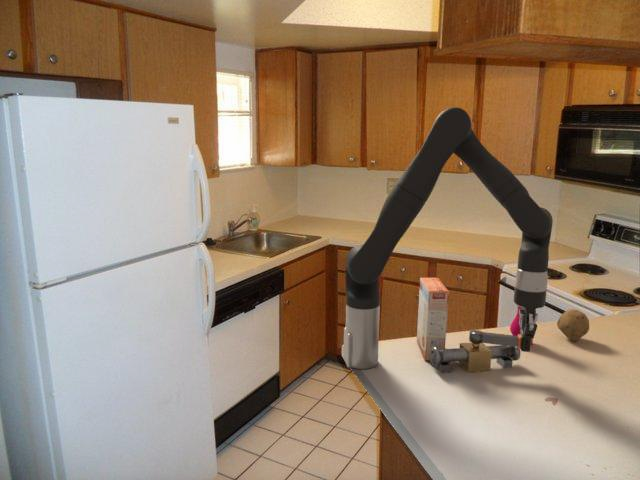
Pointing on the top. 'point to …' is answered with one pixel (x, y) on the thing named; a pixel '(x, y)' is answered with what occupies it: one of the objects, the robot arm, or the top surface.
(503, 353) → the valve pipe
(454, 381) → the top surface
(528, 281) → the robot arm
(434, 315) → the cracker box
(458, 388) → the top surface
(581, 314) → the brown rounded lump
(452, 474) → the top surface
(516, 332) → the pepper mill
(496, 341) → the lever
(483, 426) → the top surface
